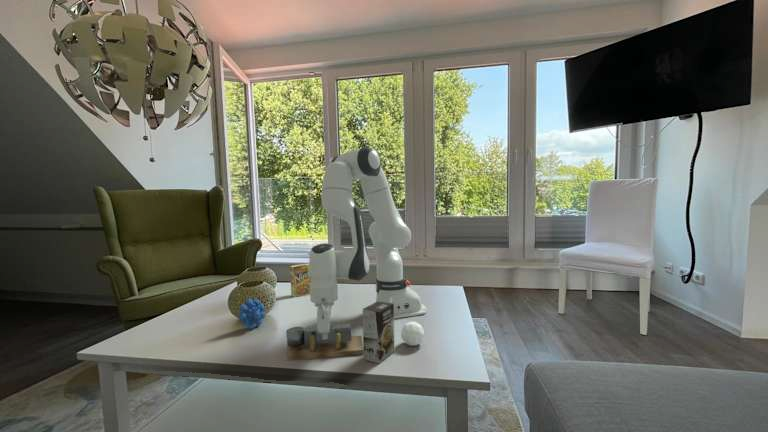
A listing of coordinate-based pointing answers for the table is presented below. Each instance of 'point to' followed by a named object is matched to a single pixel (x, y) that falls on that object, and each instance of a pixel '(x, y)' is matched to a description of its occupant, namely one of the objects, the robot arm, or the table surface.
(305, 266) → the candy box
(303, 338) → the grey bar
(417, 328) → the geometric ball
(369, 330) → the coffee box
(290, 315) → the table surface
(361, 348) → the peg board
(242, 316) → the grapes
